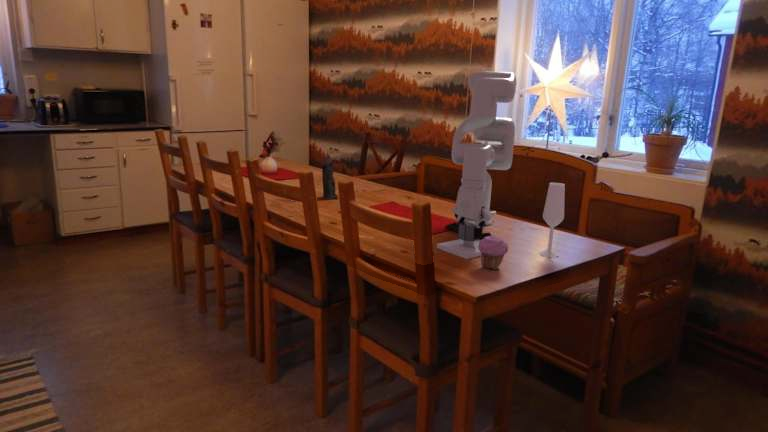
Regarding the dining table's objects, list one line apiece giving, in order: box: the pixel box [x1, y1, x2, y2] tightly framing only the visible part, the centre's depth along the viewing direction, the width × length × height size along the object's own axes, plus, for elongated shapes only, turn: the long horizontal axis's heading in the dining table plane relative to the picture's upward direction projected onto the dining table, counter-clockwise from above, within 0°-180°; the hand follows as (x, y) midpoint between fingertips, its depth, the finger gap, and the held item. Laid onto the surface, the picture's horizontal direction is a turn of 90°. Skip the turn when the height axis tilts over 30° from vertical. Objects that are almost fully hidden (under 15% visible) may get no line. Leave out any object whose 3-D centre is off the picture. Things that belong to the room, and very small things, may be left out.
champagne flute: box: [538, 182, 566, 258], centre depth 177 cm, size 7×7×24 cm
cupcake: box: [478, 235, 509, 271], centre depth 163 cm, size 9×9×10 cm
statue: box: [321, 155, 339, 200], centre depth 250 cm, size 7×7×20 cm
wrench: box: [445, 221, 492, 241], centre depth 196 cm, size 5×5×30 cm
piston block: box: [436, 221, 482, 260], centre depth 180 cm, size 16×14×10 cm
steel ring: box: [457, 221, 480, 241], centre depth 180 cm, size 7×7×5 cm
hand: (469, 235), depth 180 cm, fingers closed on steel ring, 7 cm apart
